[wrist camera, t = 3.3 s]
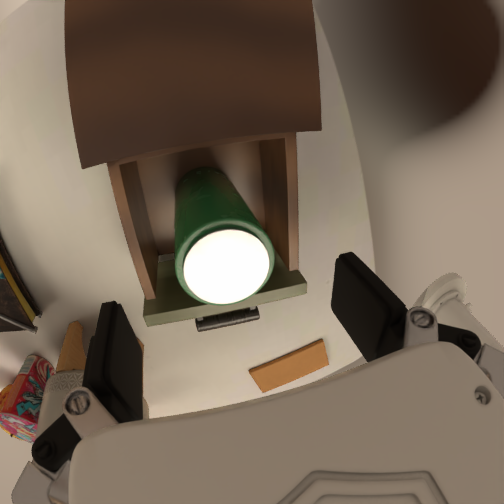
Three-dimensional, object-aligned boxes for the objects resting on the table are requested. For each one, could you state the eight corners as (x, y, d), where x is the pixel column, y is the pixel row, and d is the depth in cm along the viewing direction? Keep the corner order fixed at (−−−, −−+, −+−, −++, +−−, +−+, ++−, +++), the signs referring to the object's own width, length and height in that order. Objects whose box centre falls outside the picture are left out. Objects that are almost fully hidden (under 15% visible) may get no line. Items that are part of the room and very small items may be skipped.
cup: (58, 389, 35) (48, 451, 24) (14, 366, 30) (-3, 427, 20) (71, 361, 32) (58, 433, 22) (21, 334, 28) (-4, 404, 18)
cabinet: (274, 119, 24) (322, 130, 16) (114, 145, 22) (81, 169, 14) (261, -18, 17) (302, -62, 9) (100, 2, 15) (68, -38, 7)
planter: (96, 388, 36) (91, 492, 21) (41, 334, 29) (10, 451, 14) (165, 369, 37) (177, 487, 22) (112, 305, 30) (94, 450, 15)
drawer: (279, 281, 33) (304, 328, 26) (161, 305, 30) (161, 359, 24) (270, 117, 23) (307, 125, 17) (118, 142, 21) (93, 159, 15)
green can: (230, 161, 24) (275, 212, 13) (236, 217, 26) (278, 298, 16) (169, 172, 23) (164, 232, 13) (180, 227, 25) (187, 317, 15)
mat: (322, 338, 41) (323, 341, 41) (327, 362, 45) (328, 364, 44) (248, 370, 41) (249, 373, 40) (261, 390, 44) (262, 393, 44)
